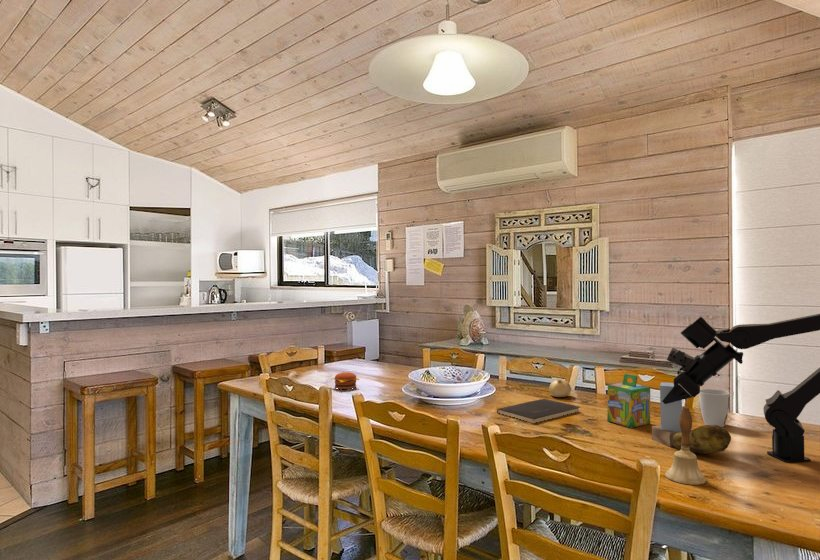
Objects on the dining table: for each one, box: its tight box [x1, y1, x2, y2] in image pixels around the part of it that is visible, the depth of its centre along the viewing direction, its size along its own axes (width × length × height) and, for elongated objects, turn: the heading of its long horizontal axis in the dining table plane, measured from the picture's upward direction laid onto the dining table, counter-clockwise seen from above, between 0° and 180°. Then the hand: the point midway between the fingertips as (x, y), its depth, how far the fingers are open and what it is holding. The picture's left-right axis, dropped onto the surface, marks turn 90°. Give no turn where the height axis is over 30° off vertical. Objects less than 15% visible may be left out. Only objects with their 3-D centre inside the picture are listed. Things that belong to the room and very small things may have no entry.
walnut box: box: [651, 424, 679, 448], centre depth 143 cm, size 7×7×4 cm
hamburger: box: [331, 371, 360, 390], centre depth 221 cm, size 9×10×7 cm
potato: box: [672, 424, 732, 455], centre depth 133 cm, size 8×13×8 cm, turn 26°
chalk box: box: [606, 373, 651, 429], centre depth 162 cm, size 9×9×15 cm
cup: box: [698, 388, 731, 428], centre depth 158 cm, size 8×8×10 cm
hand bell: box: [664, 406, 707, 486], centre depth 118 cm, size 8×8×16 cm
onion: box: [548, 378, 572, 398], centre depth 199 cm, size 8×8×7 cm
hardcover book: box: [496, 398, 581, 424], centre depth 176 cm, size 16×23×2 cm
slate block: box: [659, 381, 683, 432], centre depth 143 cm, size 5×5×12 cm
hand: (665, 399), depth 143 cm, fingers open, 9 cm apart
